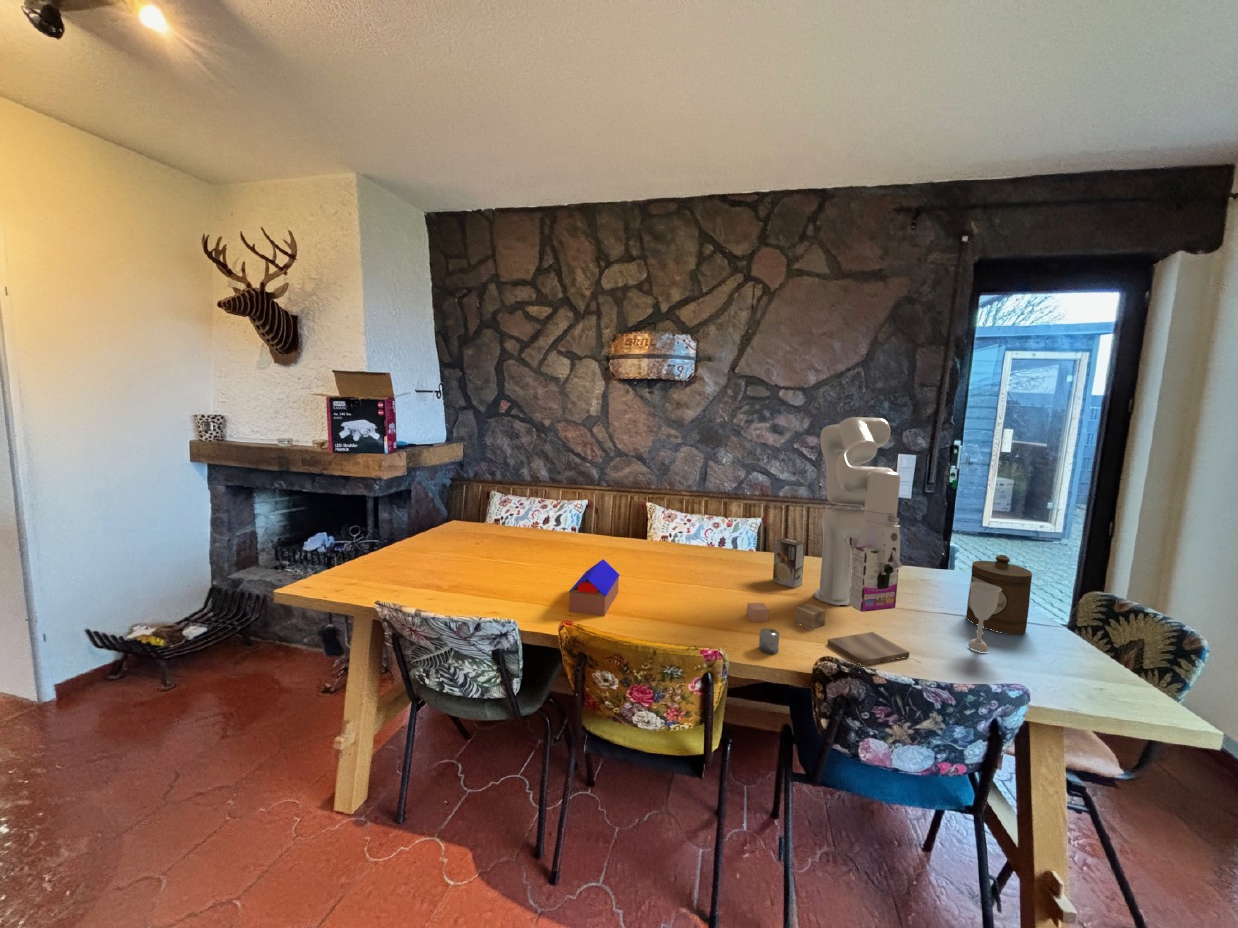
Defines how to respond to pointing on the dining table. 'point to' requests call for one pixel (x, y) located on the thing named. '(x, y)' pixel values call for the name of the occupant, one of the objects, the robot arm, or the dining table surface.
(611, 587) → the house
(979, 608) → the chalice
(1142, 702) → the dining table surface
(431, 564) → the dining table surface
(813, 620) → the dark oak block
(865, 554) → the candy bar box
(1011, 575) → the wooden container
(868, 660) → the walnut board
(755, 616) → the terracotta block
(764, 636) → the grey metal cylinder
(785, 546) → the coffee box
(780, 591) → the dining table surface
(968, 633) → the dining table surface
